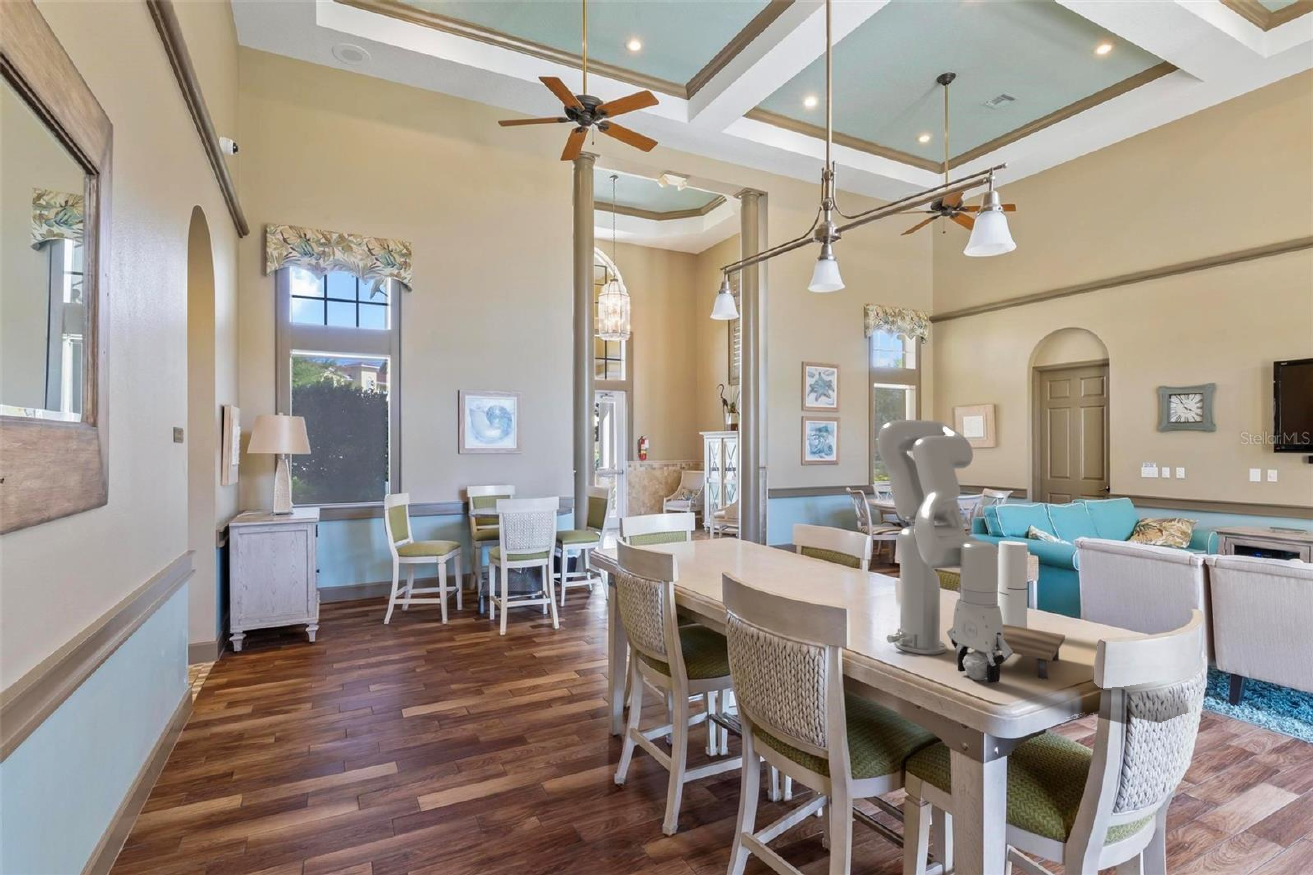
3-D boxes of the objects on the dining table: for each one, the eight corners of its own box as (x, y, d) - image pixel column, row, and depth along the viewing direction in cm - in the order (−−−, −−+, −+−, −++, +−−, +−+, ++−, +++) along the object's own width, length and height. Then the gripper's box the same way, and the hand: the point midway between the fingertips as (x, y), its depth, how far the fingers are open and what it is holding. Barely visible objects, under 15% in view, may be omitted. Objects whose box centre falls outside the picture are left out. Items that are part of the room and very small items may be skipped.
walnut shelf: (1051, 682, 142) (1051, 655, 142) (982, 667, 151) (982, 642, 151) (1064, 659, 157) (1064, 635, 157) (1001, 647, 166) (1001, 624, 166)
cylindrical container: (1025, 636, 175) (1025, 545, 175) (996, 631, 180) (996, 543, 180) (1028, 630, 181) (1029, 542, 181) (1000, 625, 185) (1001, 540, 185)
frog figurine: (977, 687, 139) (978, 655, 139) (955, 675, 145) (956, 645, 145) (1001, 685, 140) (1001, 653, 140) (978, 673, 147) (978, 643, 147)
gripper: (935, 590, 149) (934, 666, 149) (1002, 608, 133) (1002, 693, 133) (957, 587, 152) (957, 661, 152) (1026, 604, 136) (1025, 687, 136)
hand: (978, 675), depth 143 cm, fingers closed on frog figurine, 6 cm apart
